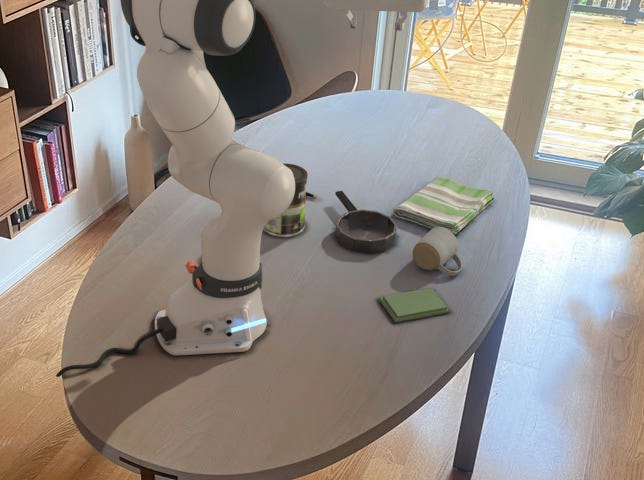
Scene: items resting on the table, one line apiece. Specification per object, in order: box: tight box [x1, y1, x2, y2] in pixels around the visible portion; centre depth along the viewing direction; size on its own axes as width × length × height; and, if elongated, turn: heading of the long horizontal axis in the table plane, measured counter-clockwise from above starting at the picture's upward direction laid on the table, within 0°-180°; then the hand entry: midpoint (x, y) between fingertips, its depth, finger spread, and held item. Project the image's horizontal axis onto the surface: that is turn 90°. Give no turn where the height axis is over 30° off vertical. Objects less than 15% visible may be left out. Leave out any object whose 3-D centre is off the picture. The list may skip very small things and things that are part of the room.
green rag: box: [379, 287, 450, 323], centre depth 171 cm, size 12×8×1 cm, turn 107°
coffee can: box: [263, 163, 309, 238], centre depth 192 cm, size 10×10×14 cm
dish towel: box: [392, 176, 495, 236], centre depth 202 cm, size 17×23×4 cm
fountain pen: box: [306, 191, 320, 198], centre depth 209 cm, size 14×1×2 cm, turn 57°
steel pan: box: [334, 190, 398, 254], centre depth 195 cm, size 14×24×3 cm, turn 17°
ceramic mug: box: [412, 227, 463, 277], centre depth 181 cm, size 11×8×8 cm
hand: (376, 28), depth 163 cm, fingers open, 8 cm apart
